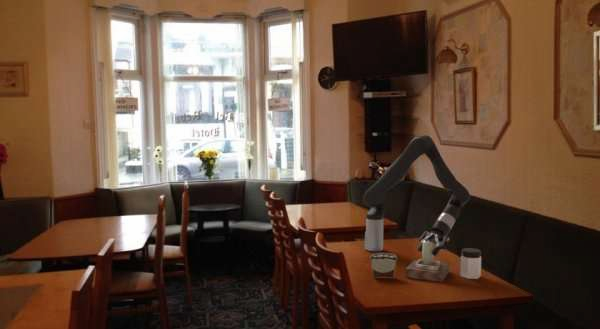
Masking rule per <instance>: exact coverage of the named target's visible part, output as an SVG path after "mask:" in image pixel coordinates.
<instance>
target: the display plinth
mask: <svg viewBox="0 0 600 329" xmlns="http://www.w3.org/2000/svg"><path fill="white" fill-rule="evenodd" d="M449 270H450V264H449V263H446V262H445V263H444V262H442V261H440V260H434V264H433V266H429V265H422V258H419V259H414V260H413V261H412V262H410V264H409V265H408V266H407V267H405V277H406V278H410V279H415V280H416V279H417V280H422V281H423V280H426V281H433V282H440V283H442V282H444V280H445V279H446V277H447V276H448V274H449V272H450V271H449Z"/></svg>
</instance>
